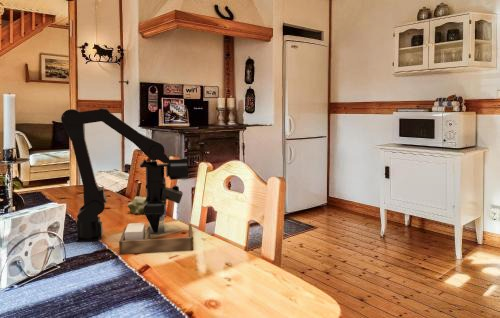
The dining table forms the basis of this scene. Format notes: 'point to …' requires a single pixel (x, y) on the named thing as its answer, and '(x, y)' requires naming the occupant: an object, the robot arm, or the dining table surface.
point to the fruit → (137, 205)
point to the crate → (155, 244)
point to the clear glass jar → (161, 226)
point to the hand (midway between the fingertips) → (156, 228)
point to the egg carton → (135, 231)
